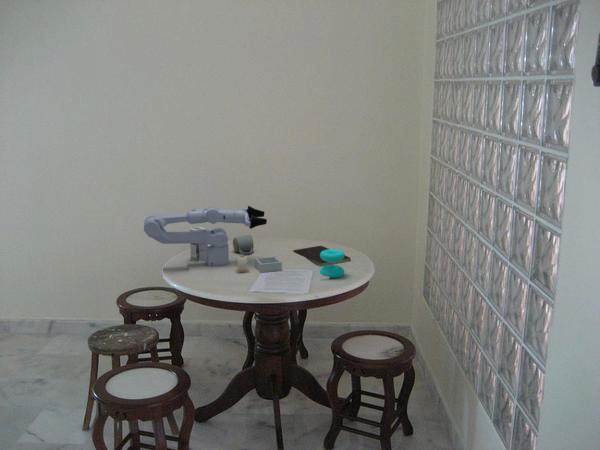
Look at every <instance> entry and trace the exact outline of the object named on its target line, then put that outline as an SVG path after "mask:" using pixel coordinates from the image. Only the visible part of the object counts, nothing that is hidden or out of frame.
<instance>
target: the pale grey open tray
mask: <svg viewBox="0 0 600 450" xmlns="http://www.w3.org/2000/svg"><path fill="white" fill-rule="evenodd" d="M254 267H255V268H256V269H257V271H259V272H260V273H269V272H279V271H282V270H283V262H282V261H281V260H280V259H279V258H278V257H277V256H268V257H267V256H266V257H260V258H259V257H257V258H254Z"/></svg>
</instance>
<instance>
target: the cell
mask: <svg viewBox="0 0 600 450" xmlns="http://www.w3.org/2000/svg"><path fill="white" fill-rule="evenodd" d="M236 258H237V259H236V260H237V269H238V272H247V268H248V255H242V254H241V255H239V256H237V257H236Z"/></svg>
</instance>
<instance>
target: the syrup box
mask: <svg viewBox="0 0 600 450" xmlns="http://www.w3.org/2000/svg"><path fill="white" fill-rule="evenodd" d="M207 230H208V228H205V227H201V226H195V227H194V226H193V227H191V228H189V232H193V231H207ZM189 245H190V246H189V247H190V261H193V262H195V261H196V263H197V262H205V261H206V247H208V245H209V244H206V243H189Z"/></svg>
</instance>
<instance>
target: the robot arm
mask: <svg viewBox="0 0 600 450" xmlns="http://www.w3.org/2000/svg"><path fill="white" fill-rule="evenodd" d="M265 212H266V211H264V210H263V211H262V210H260V209H258V208H254V207H252V206H251V205H247V207H242V209H231V208H230V209H227V208H223V209H222V208H219V209H218V208H217V209H216V208H215V207H210V206H209V207H208V208H206V207H204V208H203V209H196V208H191V209H190V210H188V211H187V213H177V214H175V213H173V214H171V213H170V214H169V213H168V214H156V215H152V216H151V215H149V216H147V217H146V218H145V220H144V222H143V223H144V225H143V231H144V233H145V234H146V235H147V236H148V238H151V239H153V240H155V241H156V242H158V243H160V244H163V245H168V244H169V245H170V244H171V245H173V244H175V245H176V244H177V245H179V244H190V243H206V244H208V245H209V246H208V247H206V262H205V263H206V264H207V265H208V266H209V267H211V266H224V265H228V264H229V263H230V262H229V260H230V259H229V257H230V256H229V255H230V254H229V243H228V241H229V239H228V238H229V237H228V235H227V233H226V230H225V229H224V228H222V227H216V228H213V229H207V231H193V232H190V231H168V230H166V229H165V227H166V226H167V225H169V224H171V225H172V224H179V223H185V222H187V223H189V224H190V225H193V224H194V225H195V224H206V223H210V224H212V225H214V224H218V223H224V224H225V223H226V224H241V225H242V224H243V225H244V226H245V227H248V228H249V229H254V228H255V227H259V226H264V225H267V222H268V219H267V218H263V217H265Z"/></svg>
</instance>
